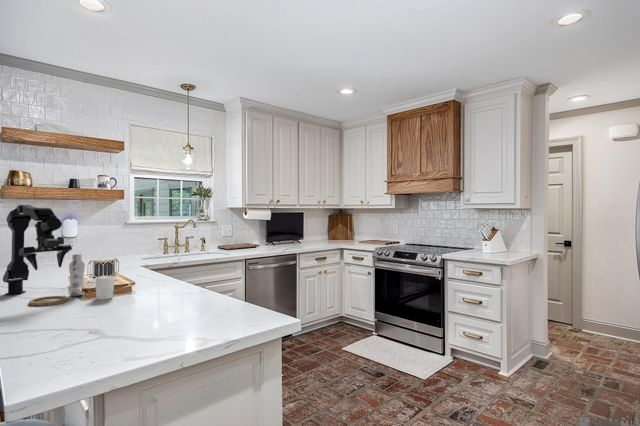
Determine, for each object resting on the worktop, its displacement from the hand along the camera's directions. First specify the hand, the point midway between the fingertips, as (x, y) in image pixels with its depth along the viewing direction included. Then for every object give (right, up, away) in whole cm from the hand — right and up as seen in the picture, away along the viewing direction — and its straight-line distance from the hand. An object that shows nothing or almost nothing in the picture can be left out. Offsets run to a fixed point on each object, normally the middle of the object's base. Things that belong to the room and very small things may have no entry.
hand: (48, 268), depth 165 cm
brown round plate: (-1, -15, +1) cm, 15 cm away
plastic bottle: (+3, -16, +14) cm, 21 cm away
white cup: (+19, -16, +10) cm, 27 cm away
